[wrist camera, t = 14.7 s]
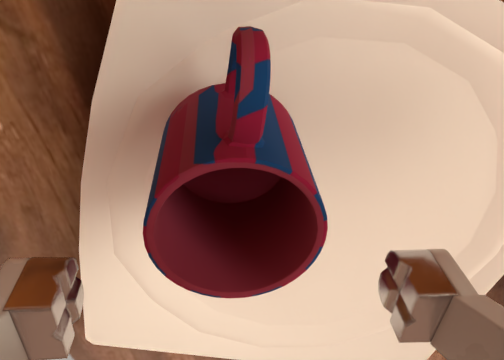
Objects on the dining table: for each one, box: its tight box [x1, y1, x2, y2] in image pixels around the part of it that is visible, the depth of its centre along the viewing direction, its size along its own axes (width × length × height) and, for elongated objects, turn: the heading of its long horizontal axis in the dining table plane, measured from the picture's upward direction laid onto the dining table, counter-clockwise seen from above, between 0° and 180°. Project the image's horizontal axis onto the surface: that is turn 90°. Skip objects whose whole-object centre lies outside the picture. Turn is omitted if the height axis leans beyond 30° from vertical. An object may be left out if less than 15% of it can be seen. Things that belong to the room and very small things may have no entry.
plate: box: [79, 0, 504, 360], centre depth 26 cm, size 29×29×3 cm
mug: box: [143, 26, 328, 298], centre depth 17 cm, size 7×10×7 cm
